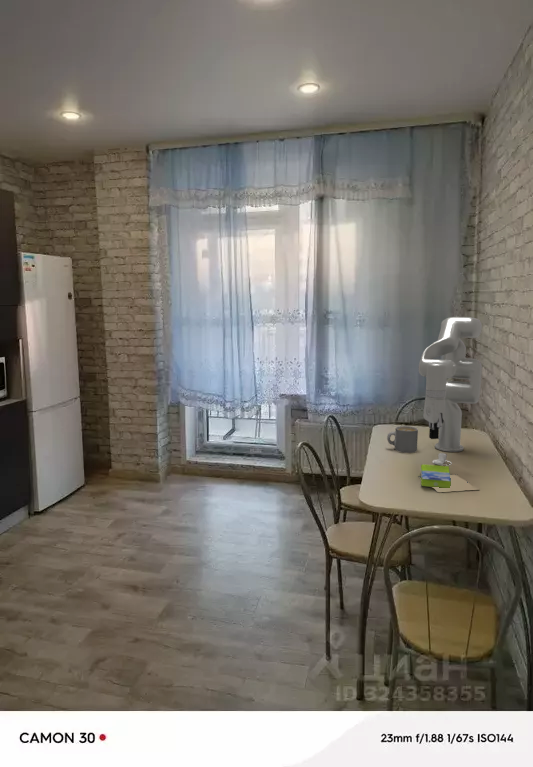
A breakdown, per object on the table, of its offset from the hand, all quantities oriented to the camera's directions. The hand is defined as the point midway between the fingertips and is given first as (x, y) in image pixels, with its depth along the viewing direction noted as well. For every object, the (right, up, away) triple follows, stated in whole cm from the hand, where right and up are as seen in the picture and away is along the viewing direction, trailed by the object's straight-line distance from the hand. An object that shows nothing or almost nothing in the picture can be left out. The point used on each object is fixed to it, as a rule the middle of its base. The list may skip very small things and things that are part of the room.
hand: (433, 438), depth 209 cm
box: (0, -12, -3) cm, 12 cm away
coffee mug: (-4, -9, +33) cm, 34 cm away
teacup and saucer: (+5, -12, +14) cm, 19 cm away
